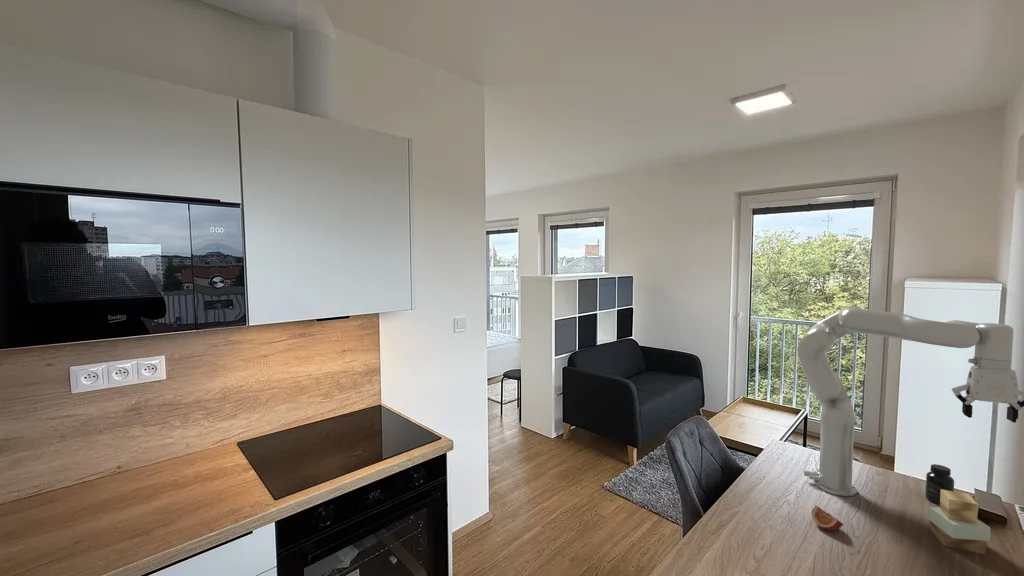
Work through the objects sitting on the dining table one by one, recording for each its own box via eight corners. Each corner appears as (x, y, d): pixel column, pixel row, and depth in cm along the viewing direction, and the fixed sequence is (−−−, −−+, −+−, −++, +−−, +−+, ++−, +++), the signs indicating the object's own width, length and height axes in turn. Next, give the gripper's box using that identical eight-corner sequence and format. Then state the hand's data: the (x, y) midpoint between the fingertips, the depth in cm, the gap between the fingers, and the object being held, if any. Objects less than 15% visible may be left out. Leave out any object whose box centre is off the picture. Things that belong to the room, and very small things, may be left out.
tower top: (952, 537, 121) (953, 524, 121) (928, 519, 130) (928, 506, 130) (989, 541, 120) (990, 527, 119) (962, 521, 128) (963, 509, 128)
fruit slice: (806, 520, 136) (807, 505, 136) (825, 518, 137) (826, 503, 137) (828, 536, 128) (829, 521, 128) (848, 535, 129) (849, 519, 128)
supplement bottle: (959, 507, 142) (960, 473, 141) (935, 505, 143) (936, 471, 142) (942, 496, 148) (944, 463, 147) (919, 494, 150) (921, 461, 149)
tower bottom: (943, 547, 123) (944, 534, 123) (929, 529, 131) (930, 516, 131) (986, 556, 119) (986, 542, 119) (969, 537, 127) (969, 524, 127)
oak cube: (948, 518, 124) (949, 499, 123) (939, 508, 129) (940, 489, 129) (976, 524, 121) (978, 504, 120) (967, 513, 126) (968, 494, 126)
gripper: (960, 364, 129) (957, 418, 130) (1041, 369, 122) (1037, 427, 123) (948, 358, 136) (945, 410, 137) (1024, 363, 128) (1021, 418, 130)
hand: (989, 418), depth 130 cm, fingers open, 9 cm apart
